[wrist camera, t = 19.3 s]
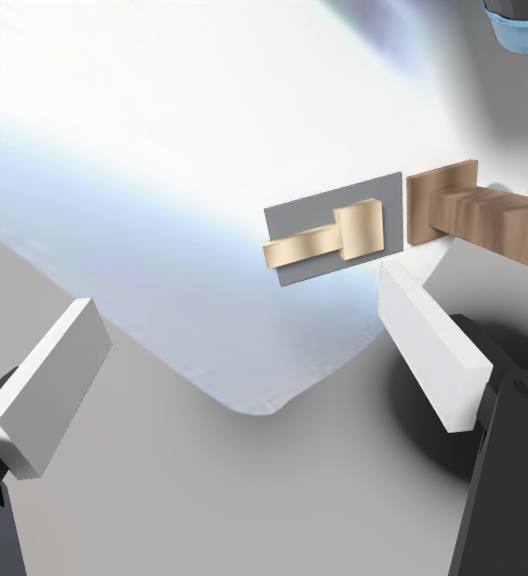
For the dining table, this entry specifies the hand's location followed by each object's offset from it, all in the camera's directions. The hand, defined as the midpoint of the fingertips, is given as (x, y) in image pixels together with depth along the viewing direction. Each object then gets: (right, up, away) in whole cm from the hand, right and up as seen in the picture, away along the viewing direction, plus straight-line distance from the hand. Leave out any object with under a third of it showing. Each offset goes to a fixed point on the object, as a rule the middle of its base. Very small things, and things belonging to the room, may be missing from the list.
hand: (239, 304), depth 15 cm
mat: (+12, +9, +33) cm, 37 cm away
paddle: (+9, +8, +33) cm, 35 cm away
